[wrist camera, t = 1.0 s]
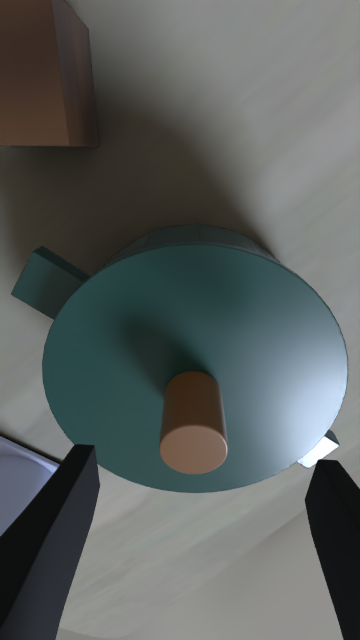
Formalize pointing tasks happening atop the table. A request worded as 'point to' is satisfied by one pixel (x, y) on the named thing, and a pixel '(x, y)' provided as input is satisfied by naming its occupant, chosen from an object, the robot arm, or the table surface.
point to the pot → (63, 278)
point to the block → (45, 76)
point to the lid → (195, 367)
